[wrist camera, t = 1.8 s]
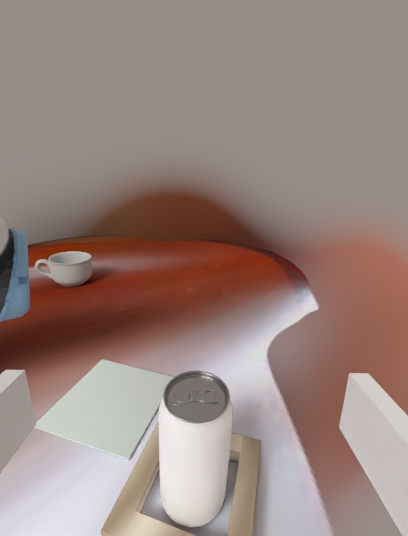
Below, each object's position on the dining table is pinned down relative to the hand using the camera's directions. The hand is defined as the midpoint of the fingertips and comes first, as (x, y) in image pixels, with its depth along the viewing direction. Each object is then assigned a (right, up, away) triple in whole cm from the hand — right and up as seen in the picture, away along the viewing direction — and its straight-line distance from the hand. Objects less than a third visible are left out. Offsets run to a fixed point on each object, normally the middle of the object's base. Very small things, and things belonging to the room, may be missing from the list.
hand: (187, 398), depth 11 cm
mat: (-12, -13, +25) cm, 30 cm away
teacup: (-39, +1, +64) cm, 74 cm away
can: (0, -17, +15) cm, 23 cm away
